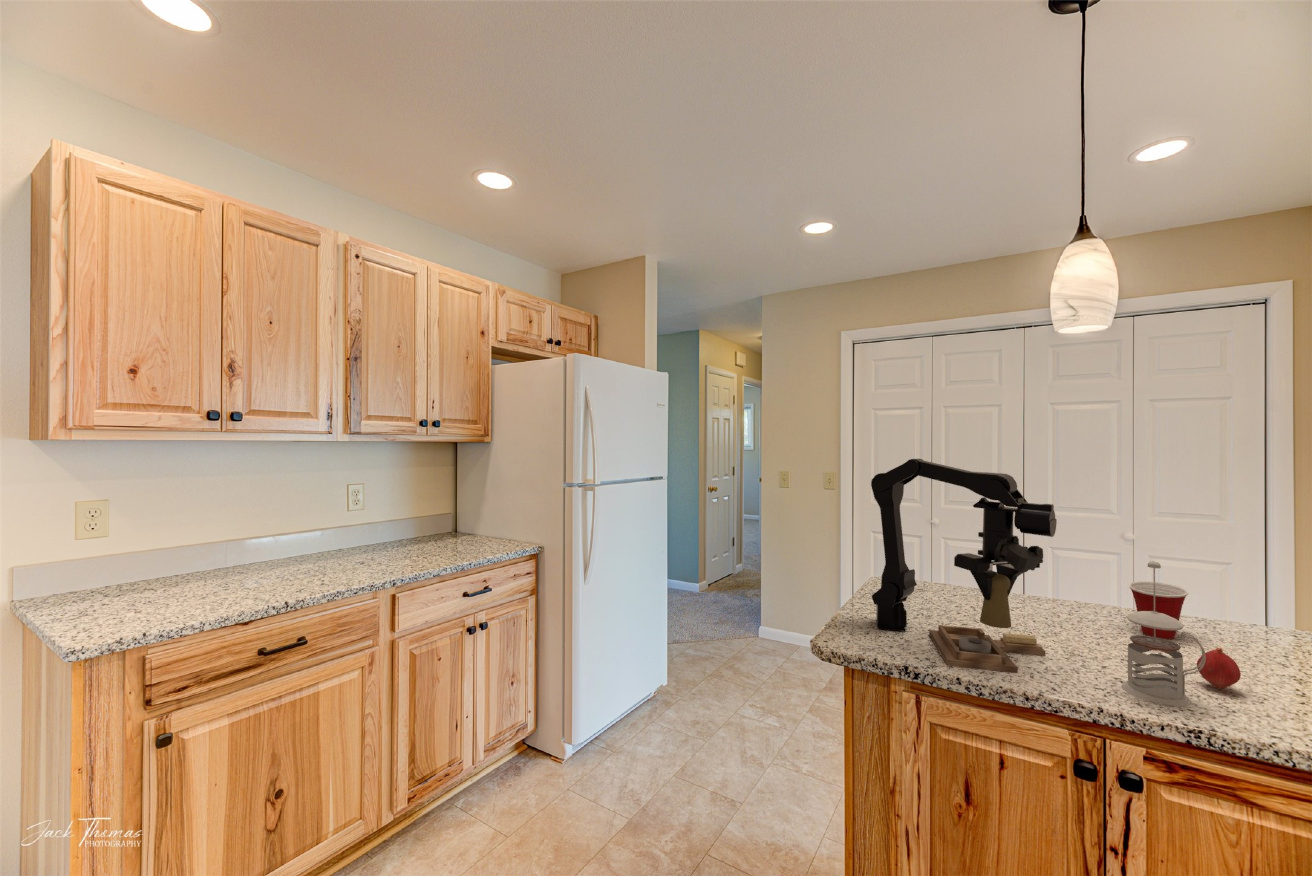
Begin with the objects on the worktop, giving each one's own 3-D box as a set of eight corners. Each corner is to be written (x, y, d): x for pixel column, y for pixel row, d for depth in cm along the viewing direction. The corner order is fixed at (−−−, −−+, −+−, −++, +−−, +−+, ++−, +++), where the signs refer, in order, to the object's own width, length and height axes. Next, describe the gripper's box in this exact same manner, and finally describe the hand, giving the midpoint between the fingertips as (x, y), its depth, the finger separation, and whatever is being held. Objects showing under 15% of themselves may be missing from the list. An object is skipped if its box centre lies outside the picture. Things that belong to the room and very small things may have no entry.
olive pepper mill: (1017, 625, 120) (1018, 576, 120) (1001, 629, 117) (1002, 579, 117) (990, 616, 125) (991, 569, 125) (973, 620, 123) (975, 572, 122)
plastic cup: (1125, 635, 132) (1124, 586, 132) (1132, 624, 140) (1131, 578, 140) (1186, 647, 124) (1186, 595, 124) (1191, 636, 131) (1190, 586, 132)
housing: (947, 665, 115) (947, 644, 115) (929, 634, 133) (929, 616, 133) (1068, 677, 109) (1068, 656, 109) (1032, 643, 127) (1032, 625, 127)
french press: (1120, 677, 109) (1119, 553, 109) (1201, 694, 102) (1200, 561, 102) (1121, 694, 101) (1120, 562, 102) (1209, 714, 94) (1208, 571, 94)
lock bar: (1006, 645, 123) (1006, 636, 123) (1002, 641, 125) (1002, 633, 125) (1036, 647, 121) (1036, 639, 121) (1032, 644, 123) (1032, 635, 123)
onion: (1188, 682, 107) (1188, 641, 107) (1215, 681, 107) (1214, 640, 107) (1221, 696, 101) (1221, 653, 101) (1249, 694, 101) (1249, 652, 101)
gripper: (996, 538, 111) (994, 614, 111) (1065, 535, 116) (1062, 607, 116) (953, 528, 121) (951, 597, 122) (1017, 525, 126) (1015, 591, 127)
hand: (995, 598), depth 121 cm, fingers closed on olive pepper mill, 5 cm apart
